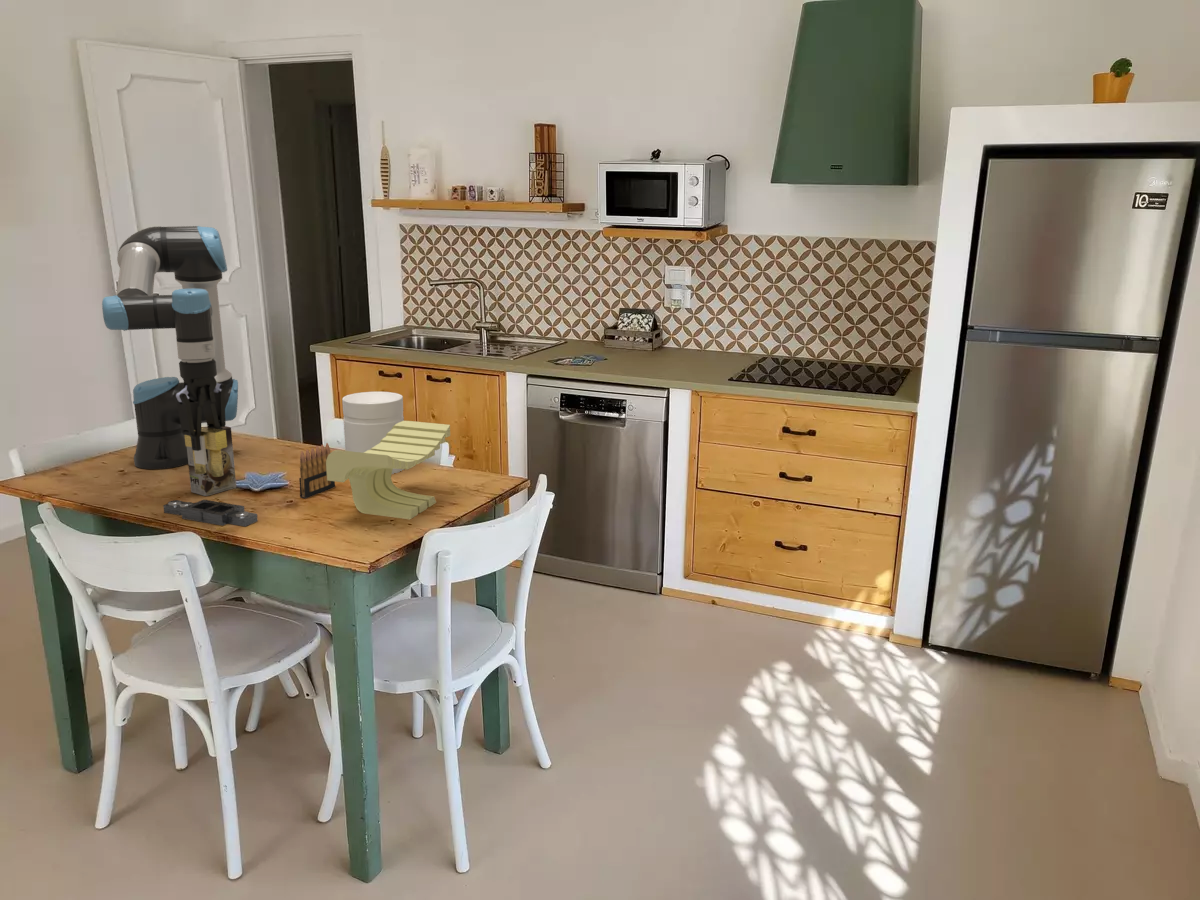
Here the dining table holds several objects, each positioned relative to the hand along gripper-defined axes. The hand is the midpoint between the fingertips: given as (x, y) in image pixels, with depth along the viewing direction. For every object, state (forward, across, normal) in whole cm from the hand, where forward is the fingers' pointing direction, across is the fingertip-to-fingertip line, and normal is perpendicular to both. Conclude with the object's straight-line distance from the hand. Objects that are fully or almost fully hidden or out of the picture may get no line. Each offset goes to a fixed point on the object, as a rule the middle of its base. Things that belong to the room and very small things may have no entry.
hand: (207, 461), depth 206 cm
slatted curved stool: (+14, +23, -34) cm, 43 cm away
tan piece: (+3, 0, 0) cm, 3 cm away
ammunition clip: (+14, +25, -10) cm, 30 cm away
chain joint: (+14, 0, 0) cm, 14 cm away
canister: (+14, +49, -11) cm, 52 cm away
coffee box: (+14, +16, +15) cm, 26 cm away
